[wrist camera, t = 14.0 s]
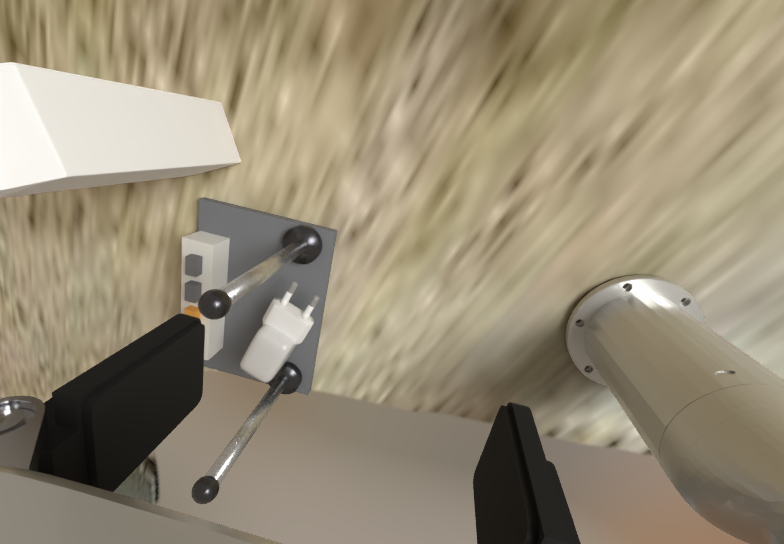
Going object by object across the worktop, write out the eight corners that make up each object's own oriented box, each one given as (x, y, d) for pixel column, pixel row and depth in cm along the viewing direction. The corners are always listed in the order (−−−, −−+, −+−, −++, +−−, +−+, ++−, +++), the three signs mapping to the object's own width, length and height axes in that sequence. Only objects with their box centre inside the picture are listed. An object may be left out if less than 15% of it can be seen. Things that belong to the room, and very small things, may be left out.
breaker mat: (337, 230, 39) (322, 241, 35) (310, 389, 47) (295, 417, 42) (204, 197, 40) (172, 204, 36) (198, 358, 48) (171, 382, 43)
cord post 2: (304, 365, 44) (223, 489, 28) (300, 392, 46) (220, 525, 30) (272, 357, 45) (174, 474, 29) (269, 384, 46) (174, 510, 30)
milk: (221, 101, 37) (-66, 42, 16) (242, 163, 39) (6, 181, 18) (170, 117, 38) (-160, 81, 17) (192, 176, 40) (-84, 208, 19)
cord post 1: (325, 230, 38) (237, 289, 23) (319, 265, 40) (233, 345, 24) (288, 221, 39) (176, 273, 23) (284, 256, 40) (176, 329, 24)
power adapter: (298, 265, 40) (274, 284, 35) (336, 289, 40) (319, 312, 35) (257, 339, 44) (230, 367, 39) (292, 360, 44) (270, 391, 39)
